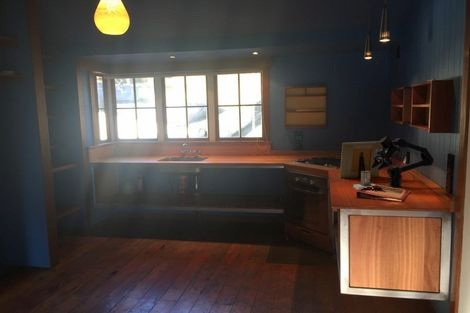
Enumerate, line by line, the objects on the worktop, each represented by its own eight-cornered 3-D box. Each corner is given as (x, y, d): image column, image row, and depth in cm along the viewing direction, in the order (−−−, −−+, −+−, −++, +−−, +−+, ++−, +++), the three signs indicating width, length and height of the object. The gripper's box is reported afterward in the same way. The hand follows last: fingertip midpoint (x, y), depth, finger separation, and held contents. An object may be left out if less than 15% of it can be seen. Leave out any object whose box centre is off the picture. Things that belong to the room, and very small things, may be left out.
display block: (372, 186, 271) (372, 183, 270) (378, 189, 261) (378, 186, 260) (353, 187, 270) (353, 184, 270) (358, 189, 260) (358, 187, 260)
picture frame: (378, 176, 312) (378, 140, 309) (383, 178, 302) (383, 141, 299) (339, 177, 311) (339, 142, 308) (343, 179, 301) (343, 143, 298)
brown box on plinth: (368, 184, 268) (368, 170, 267) (371, 185, 263) (371, 171, 262) (360, 184, 268) (359, 171, 267) (363, 186, 262) (363, 172, 261)
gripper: (375, 144, 272) (361, 159, 273) (388, 146, 254) (372, 162, 254) (386, 154, 274) (371, 169, 274) (399, 156, 255) (383, 173, 256)
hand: (374, 168), depth 264 cm, fingers open, 9 cm apart
